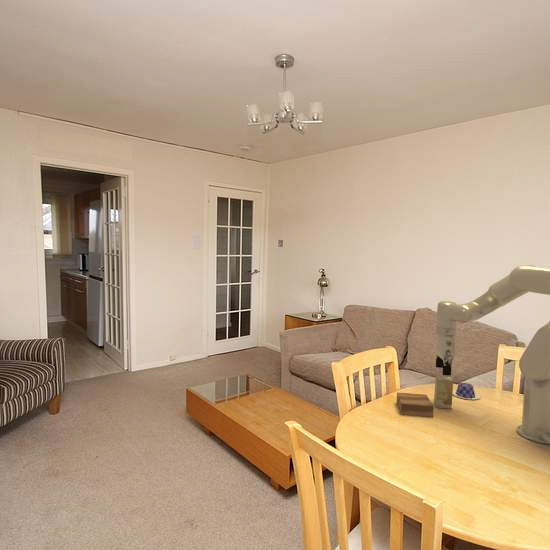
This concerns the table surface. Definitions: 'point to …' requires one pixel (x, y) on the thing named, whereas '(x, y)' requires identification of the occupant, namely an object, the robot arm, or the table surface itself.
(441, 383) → the skincare box
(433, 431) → the table surface
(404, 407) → the walnut block
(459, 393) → the checkered brimmed hat
